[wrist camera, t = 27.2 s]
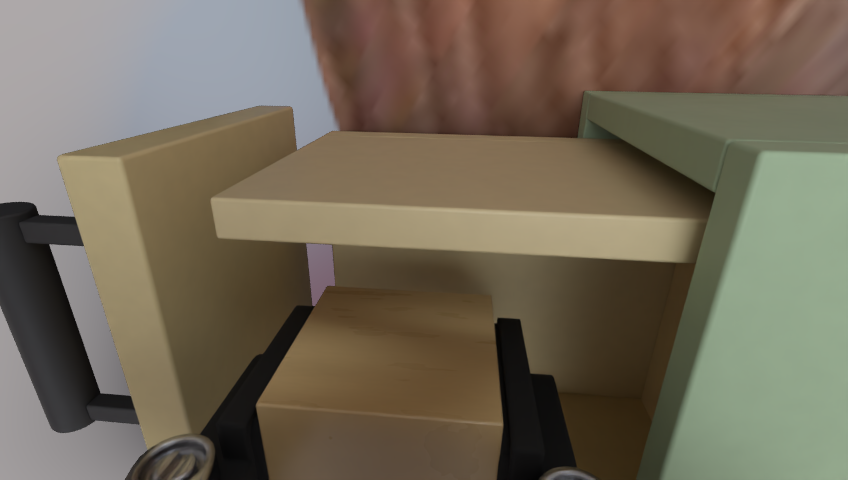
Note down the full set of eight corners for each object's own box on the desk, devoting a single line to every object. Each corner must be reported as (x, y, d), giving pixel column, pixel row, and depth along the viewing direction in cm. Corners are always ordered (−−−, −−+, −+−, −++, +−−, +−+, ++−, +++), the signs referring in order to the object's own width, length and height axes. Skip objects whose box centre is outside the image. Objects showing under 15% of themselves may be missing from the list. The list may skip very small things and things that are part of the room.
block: (337, 410, 12) (282, 561, 9) (326, 285, 11) (254, 404, 7) (481, 422, 12) (486, 583, 8) (491, 294, 11) (504, 425, 7)
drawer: (168, 370, 20) (-7, 553, 12) (97, 101, 15) (-239, 144, 8) (644, 409, 18) (758, 648, 11) (721, 116, 13) (1007, 189, 6)
